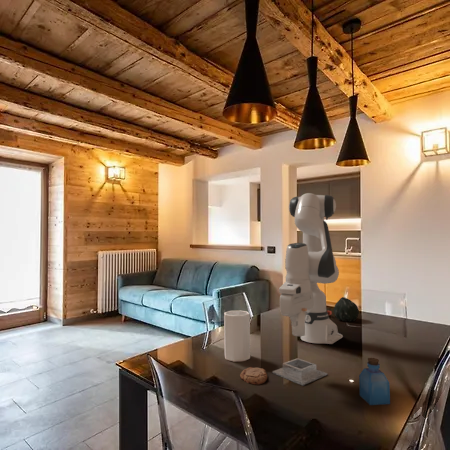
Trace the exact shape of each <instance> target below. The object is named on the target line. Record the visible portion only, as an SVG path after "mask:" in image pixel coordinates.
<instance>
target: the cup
mask: <svg viewBox="0 0 450 450" xmlns="http://www.w3.org/2000/svg"><path fill="white" fill-rule="evenodd" d="M223 314H224V316H223V323H224V325H223V326H224V327H223V328H224V329H223V333H224V335H223V336H224V337H223V338H224V340H223V341H224V345H223V346H224V347H223V348H224V358H225V360H226V361H230V362H234V363H235V362H237V363H238V362H246V361H247V360H250V359H251V324H250V323H251V317H250V316H251V314H250V313H249V311H247V310H240V309H239V310H228V311H225V312H223Z"/></svg>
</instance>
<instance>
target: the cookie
mask: <svg viewBox="0 0 450 450" xmlns="http://www.w3.org/2000/svg"><path fill="white" fill-rule="evenodd" d="M239 376H240V379H241V380H243V382H245V383H247V384H251V385H262V384H264V383H266V381H267V380H268V373H267V371H266V369H264V368H260V367H252V366H250V367H247V368H245V369H243V370H242V371H241V372H240V374H239Z"/></svg>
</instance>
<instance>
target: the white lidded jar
mask: <svg viewBox="0 0 450 450" xmlns="http://www.w3.org/2000/svg"><path fill="white" fill-rule="evenodd" d="M305 311H307V308H302V311H301V312H300V313H298V314H296V321H298V325H297V326H296V327H294V326H292V325H291V332H292V333H291V335H292V336H295V337H301V336H305Z"/></svg>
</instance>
